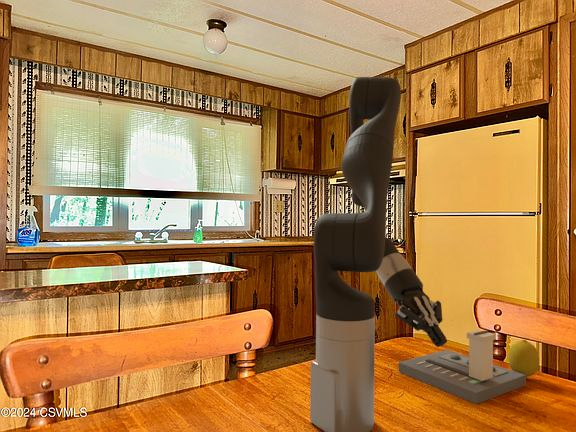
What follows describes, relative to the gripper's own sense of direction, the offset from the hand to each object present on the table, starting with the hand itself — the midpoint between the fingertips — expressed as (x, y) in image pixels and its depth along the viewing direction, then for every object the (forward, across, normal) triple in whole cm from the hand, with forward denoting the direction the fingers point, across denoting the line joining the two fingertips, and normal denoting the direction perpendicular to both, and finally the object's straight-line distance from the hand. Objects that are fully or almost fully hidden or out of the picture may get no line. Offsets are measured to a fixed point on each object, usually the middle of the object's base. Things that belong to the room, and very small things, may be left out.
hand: (442, 344), depth 87 cm
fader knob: (+9, 0, -3) cm, 10 cm away
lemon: (+12, +13, -2) cm, 17 cm away
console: (+6, +2, +3) cm, 7 cm away
